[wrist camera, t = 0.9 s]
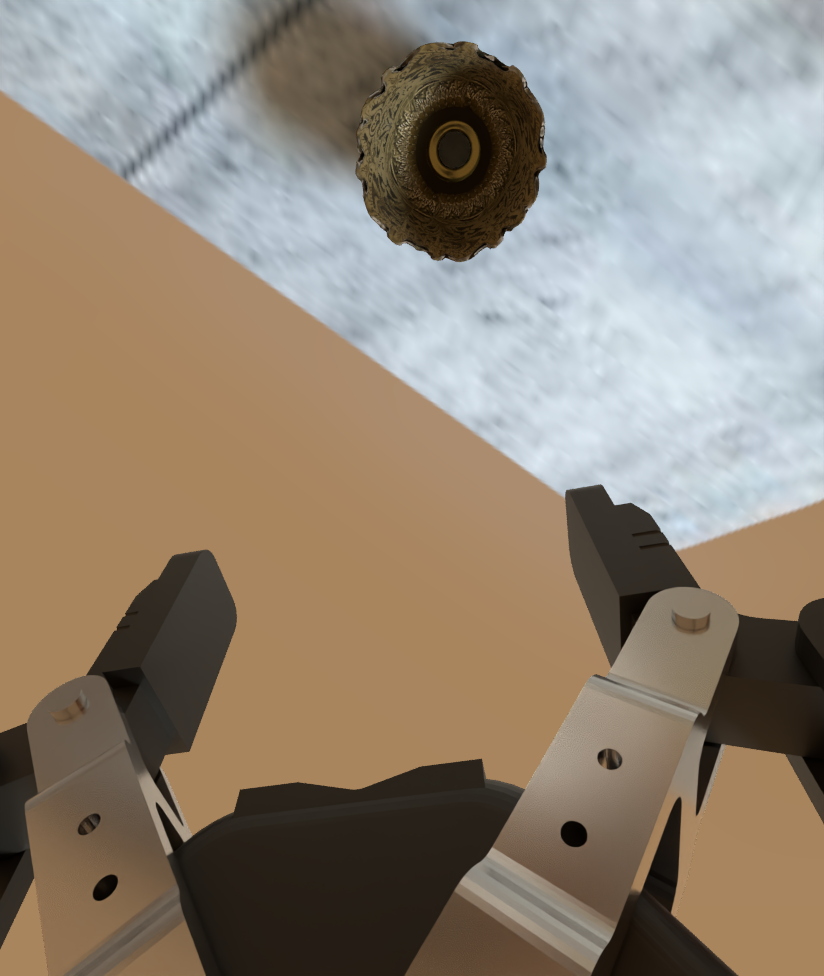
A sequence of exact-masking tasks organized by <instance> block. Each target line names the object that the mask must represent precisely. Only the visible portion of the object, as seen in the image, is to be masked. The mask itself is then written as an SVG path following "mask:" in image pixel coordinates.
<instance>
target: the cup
mask: <svg viewBox="0 0 824 976" xmlns="http://www.w3.org/2000/svg"><path fill="white" fill-rule="evenodd" d="M381 80H382V87H381V88H380V89H379V90H377V91H375V92H374V93H373V94H371V95H370V96H369V98H368V99H367V101H366V102H365V104H364V106H363V108H362V112H361V118H362V120H361V121H360V125H359V128H358V129H357V132H356V136H357V142H358V149H357V150H358V152H359V153H360V157H359V159H358V161H357V165H356V176H357V177H358V179H359V180H360V181H361V182H362V186H363V198H364V202H365V205H366V208H367V211H368V213H369V215H370V217H371V218H372V219H373V220H374V221H375V222H376V223H377V224H378V225H379V226H380V227H381V228H382V229H383V230H385V231H386V232H387V237H388V238H389V239H390V240H391V241H392V242H393V243H395V244H396V245H400V246H401V245H402V244H403V243H407V244H409V245H411V246H413V247H414V248H415V249H416V250H418V251H424V252H427V253H428V255H430V256H431V258H432V259H433V260H437V261H439V260H443V259H444V258H448V259H450V260H453V261H455V262H463V261H467V260H469V259H471V258H473V257H474V256H475V255H476V254H478V252H480V251H481V250H482V249H484V248H486V247H488V248H489V249H491V248H496V247H497V246H498V245H499V244H500V243H501V242H502V241H503V236H504V233H505V232H506V231H512V229H513V228H514V227H516V226H518V225H519V224H520V223H521V222H522V221H523V220H524V218H525V214H526V213H527V211H528V208H530V207H531V206H532V205H533V203H534V202H535V200H536V198H537V195H538V191H539V179H538V175H539V173H540V172H541V171H542V170H543V169H544V168H545V167H546V162H547V156H546V154H545V152H544V149H543V139H544V133H545V122H544V115H543V111H542V109H541V107H540V105H539V103H538V101H537V100H536V98H535V97H534V95H533V94H532V93H531V91H530V89H529V88H528V87H527V81H526V79H525V78H524V76H523V74H522V73H521V72H520V70H519V69H518V68H517V67H515V66H514V65H512V66H510V67H509V66H506V65H505V64H503V63H502V62H500V61H499V60H498V59H497V58H496V57H495V56H492V55H489V54H487V53H485V52H482V51H480V50H479V48H478V45H477V44H474V43H470V42H464V41H462V42H457V43H454V44H448V43H443V42H437V43H430V44H426V45H423V46H420V47H419V48H417V49H416V50H414V51H413V52H412V53H410V54H409V55H408V56H407V57H406V59H405V60H404V61H403V62H402V63H401V64H400V65H399V66H397V67H394V66H393V67H390V68H389V69H387V70H386V71H385V72H384V73H383V74H382V76H381ZM451 131H459V132H461V133H463V134H464V135H465V136H466V137H467V138H468V140H469V142H470V146H471V152H470V156H469V159H468V160H467V162H466V163H465V164H464V165H463V166H461V167H459V168H456V169H452V168H448V167H446V166H445V165H444V164H443V163H442V162H441V160H440V158H439V155H438V146H439V143H440V140H441V139H442V137H443V136H444V135H445V134H447V133H448V132H451Z"/></svg>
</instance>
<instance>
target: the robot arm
mask: <svg viewBox="0 0 824 976" xmlns="http://www.w3.org/2000/svg"><path fill="white" fill-rule="evenodd" d="M565 500H566V513H567V526H568V539H569V550H570V557H571V563H572V567H573V571H574V575H575V578H576V580H577V583H578V585H579V587H580V590H581V593H582V595H583V598H584V600H585V603H586V605H587V608H588V610H589V613H590V615H591V618H592V620H593V623H594V625H595V628H596V630H597V633H598V635H599V638H600V641H601V643H602V646H603V648H604V651H605V653H606V655H607V658H608V661H609V663H610V666H611V670H610V672H609V674H608V675H607V677H602V676H600V675H597V674H596V675H593V676H592V677H591V678H590V679H589V680H588V681H587V683H586V684H585V686H584V687H583V689H582V691H581V693H580V694H579V697H578V698H577V700H576V702H575V703H574V705H573V707H572V708H571V710H570V712H569V714H568V715H567V717H566V719H565V721H564V722H563V724H562V726H561V728H560V729H559V731H558V733H557V735H556V736H555V738H554V740H553V742H552V744H551V745H550V747H549V749H548V751H547V752H546V754H545V756H544V757H543V759H542V761H541V763H540V764H539V766H538V768H537V770H536V771H535V773H534V775H533V777H532V778H531V780H530V782H529V784H528V785H527V787H526V789H523V788H520V787H518V786H515V785H512V784H508V783H504V782H501V781H496V780H490V779H486V776H485V772H484V767H483V762H482V759H477V760H469V761H461V762H453V763H445V764H438V765H430V766H422V767H418V768H416V769H413V770H411V771H408V772H405V773H402V774H400V775H397V776H394V777H392V778H389V779H386V780H384V781H381V782H378V783H376V784H373V785H371V786H368V787H365V788H362V789H357V790H350V789H343V788H335V787H328V786H321V785H314V784H306V783H299V782H297V783H289V784H281V785H273V786H265V787H258V788H250V789H243V790H240V792H239V796H238V799H237V803H236V807H235V811H234V812H233V813H231V814H228V815H226V816H224V817H222V818H220V819H218V820H216V821H214V822H213V823H211V824H209V825H208V826H206V827H205V828H203V829H201V830H200V831H199V832H197V833H196V834H195V835H193V836H192V835H191V832H190V830H189V828H188V825H187V823H186V821H185V818H184V816H183V814H182V811H181V809H180V807H179V804H178V802H177V800H176V798H175V795H174V793H173V790H172V788H171V786H170V783H169V781H168V779H167V777H166V775H165V773H164V771H163V770H162V768H161V767H160V766H161V763H162V761H163V759H164V756H165V755H168V754H175V753H182V752H189V751H190V749H191V746H192V743H193V741H194V738H195V735H196V732H197V730H198V727H199V724H200V722H201V719H202V716H203V714H204V711H205V709H206V706H207V703H208V701H209V698H210V695H211V692H212V690H213V687H214V684H215V682H216V679H217V676H218V674H219V671H220V668H221V666H222V663H223V660H224V658H225V655H226V652H227V650H228V647H229V644H230V642H231V639H232V636H233V634H234V631H235V627H236V622H237V614H236V607H235V603H234V601H233V598H232V596H231V594H230V591H229V589H228V587H227V585H226V582H225V580H224V578H223V576H222V573H221V571H220V569H219V566H218V564H217V562H216V559H215V558H214V556H213V554H212V553H211V552H210V551H209V550H201V551H196V552H189V553H183V554H177V555H174V556H172V558H171V559H170V560H169V562H168V564H167V566H166V567H165V569H164V570H163V572H162V574H161V575H160V577H159V579H158V580H154V581H153V582H152V583H150V584H149V585H148V586H147V587H146V588H145V589H144V590H142V591H141V592H140V593H139V594H138V595H137V596H136V597H135V599H134V600H133V602H132V604H131V605H130V607H129V608H128V610H127V611H126V613H125V614H126V616H125V617H123V618H122V619H121V621H120V623H119V624H118V626H117V631H114V632H113V634H112V635H111V637H110V639H109V640H108V642H107V643H106V645H105V647H104V648H103V650H102V651H101V653H100V654H99V656H98V657H97V659H96V661H95V662H94V664H93V665H92V667H91V669H90V670H89V672H88V673H87V675H86V676H82V677H79V678H76V679H73V680H71V681H69V682H67V683H65V684H63V685H61V686H59V687H58V688H56V689H55V690H53V691H52V692H50V693H49V694H48V695H47V696H46V697H44V698H43V699H42V700H41V701H40V702H39V703H38V705H37V706H36V707H35V708H34V709H33V711H32V713H31V714H30V716H29V719H28V722H27V723H25V724H23V725H20V726H17V727H15V728H12V729H10V730H7V731H4V732H2V733H0V949H1V946H2V944H3V942H4V940H5V938H6V936H7V934H8V932H9V930H10V927H11V925H12V923H13V921H14V919H15V917H16V915H17V913H18V911H19V908H20V906H21V904H22V902H23V900H24V898H25V896H26V894H27V892H28V889H29V887H30V885H31V883H32V881H33V879H34V878H35V884H36V891H37V898H38V906H39V913H40V920H41V927H42V934H43V941H44V947H45V954H46V961H47V968H48V975H49V976H738V975H737V974H736V973H735V972H734V971H733V970H732V969H730V968H729V967H728V966H727V965H726V964H725V963H724V962H723V961H722V960H721V959H720V958H719V957H717V956H716V955H715V954H714V953H713V952H712V951H711V950H710V949H709V948H707V946H706V945H705V944H703V943H702V942H701V941H700V940H699V939H698V938H697V937H696V936H695V935H694V934H693V933H692V932H690V931H689V930H688V929H687V928H686V927H685V926H684V925H683V924H682V923H681V922H679V921H678V920H677V919H676V915H677V911H678V908H679V906H680V902H681V899H682V896H683V893H684V890H685V886H686V882H687V878H688V875H689V871H690V866H691V862H692V857H693V851H694V846H695V841H696V837H697V834H698V830H699V826H700V824H701V820H702V817H703V814H704V811H705V808H706V804H707V802H708V798H709V796H710V793H711V790H712V786H713V783H714V780H715V777H716V774H717V771H718V768H719V764H720V762H721V759H722V755H723V752H724V749H725V746H726V745H731V746H737V747H745V748H751V749H757V750H763V751H769V752H776V753H782V754H785V755H786V757H787V758H788V760H789V762H790V764H791V766H792V767H793V769H794V771H795V773H796V775H797V776H798V778H799V780H800V782H801V784H802V785H803V787H804V789H805V791H806V793H807V794H808V796H809V798H810V800H811V802H812V803H813V805H814V807H815V809H816V811H817V812H818V814H819V816H820V818H821V820H822V821H823V823H824V598H822V599H818V600H815V601H812V602H810V603H808V604H807V605H806V606H804V607H803V609H802V610H801V611H800V615H799V619H798V621H787V620H775V619H763V618H755V617H749V616H744V615H740V614H737V612H736V610H735V609H734V607H733V606H732V605H731V604H730V603H729V602H728V601H727V600H725V599H724V598H722V597H721V596H719V595H717V594H715V593H712V592H710V591H707V590H703V589H701V588H700V587H699V586H698V584H697V582H696V581H695V580H694V578H693V577H692V575H691V574H690V572H689V571H688V569H687V568H686V566H685V565H684V563H683V562H682V561H681V559H680V557H679V556H678V555H677V553H676V552H675V550H674V549H673V547H672V546H671V545H669V541H668V540H667V538H666V537H665V535H664V534H663V532H662V533H661V531H660V528H659V527H658V525H657V524H656V522H655V521H654V519H653V518H652V516H651V515H650V514H649V513H647V512H645V511H644V510H642V509H640V508H639V507H637V506H635V505H634V504H632V503H627V504H621V505H614V504H613V502H612V500H611V499H610V497H609V495H608V494H607V492H606V490H605V489H604V487H603V486H602V485H601V484H600V485H594V486H588V487H582V488H576V489H570V490H566V494H565Z"/></svg>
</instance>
